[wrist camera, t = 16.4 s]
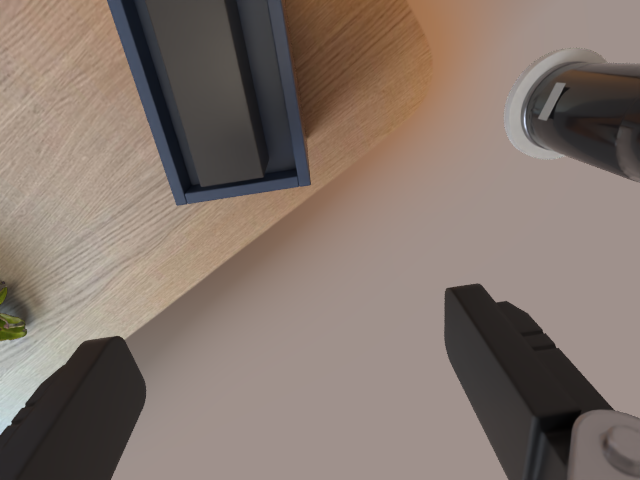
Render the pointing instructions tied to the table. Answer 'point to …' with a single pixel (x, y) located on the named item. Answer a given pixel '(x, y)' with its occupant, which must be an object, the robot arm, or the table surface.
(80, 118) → the table surface
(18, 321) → the passion flower
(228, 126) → the block
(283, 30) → the tray
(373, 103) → the table surface
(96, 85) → the table surface
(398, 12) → the table surface
